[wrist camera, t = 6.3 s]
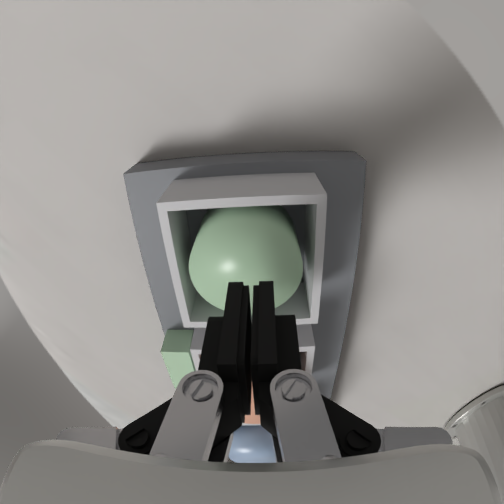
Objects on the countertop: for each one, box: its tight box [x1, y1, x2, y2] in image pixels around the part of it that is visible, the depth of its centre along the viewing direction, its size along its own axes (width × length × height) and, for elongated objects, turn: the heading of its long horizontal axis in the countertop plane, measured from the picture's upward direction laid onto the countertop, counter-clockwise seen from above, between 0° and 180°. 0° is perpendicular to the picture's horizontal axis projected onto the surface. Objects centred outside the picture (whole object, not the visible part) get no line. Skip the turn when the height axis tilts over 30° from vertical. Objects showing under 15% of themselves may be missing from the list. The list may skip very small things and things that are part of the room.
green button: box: [189, 205, 303, 314], centre depth 15 cm, size 5×5×3 cm
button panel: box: [123, 151, 366, 425], centre depth 20 cm, size 25×12×5 cm, turn 3°
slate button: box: [229, 425, 276, 463], centre depth 23 cm, size 5×5×3 cm
